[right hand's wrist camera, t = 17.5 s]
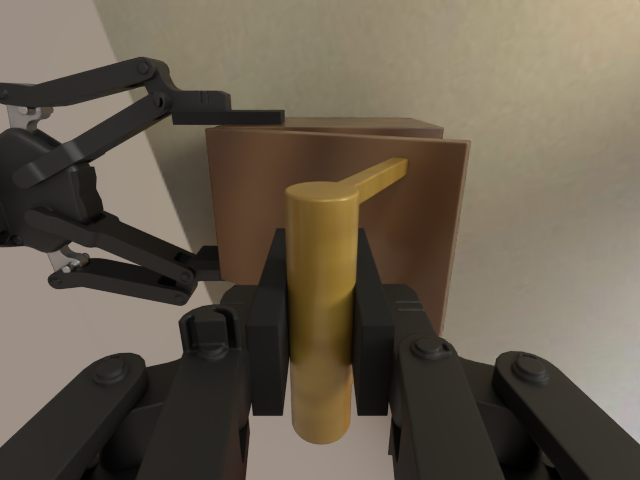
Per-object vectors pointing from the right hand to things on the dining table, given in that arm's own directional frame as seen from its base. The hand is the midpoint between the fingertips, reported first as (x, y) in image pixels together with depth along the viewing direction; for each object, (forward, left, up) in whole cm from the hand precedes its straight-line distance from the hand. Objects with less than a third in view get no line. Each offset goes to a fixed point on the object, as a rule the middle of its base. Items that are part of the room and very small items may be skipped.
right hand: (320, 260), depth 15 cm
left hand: (+1, -2, -11) cm, 11 cm away
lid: (0, 0, -5) cm, 5 cm away
